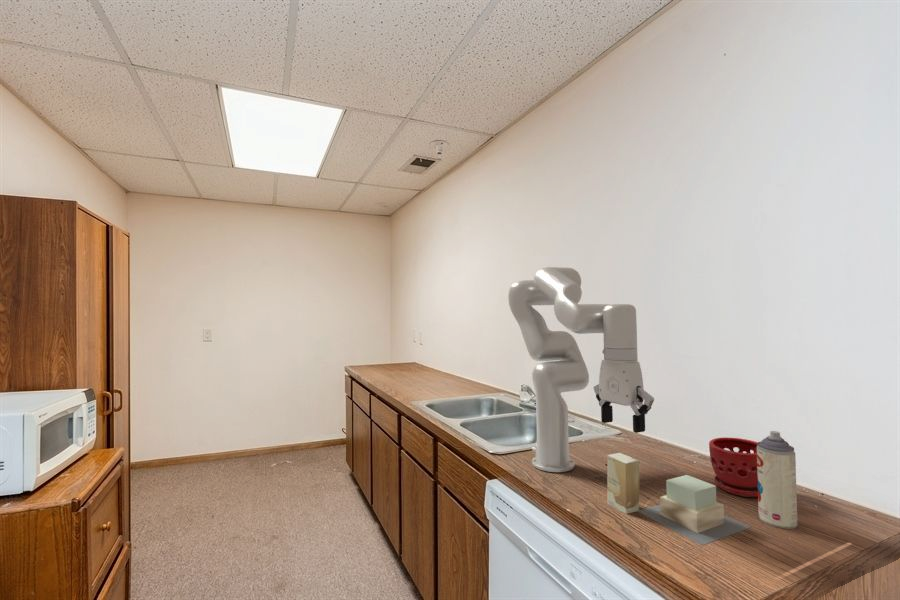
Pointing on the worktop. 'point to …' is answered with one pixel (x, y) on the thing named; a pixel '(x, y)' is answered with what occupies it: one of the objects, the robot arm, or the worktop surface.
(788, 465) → the aerosol can
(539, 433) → the robot arm
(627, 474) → the skincare box
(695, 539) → the mat
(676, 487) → the top block
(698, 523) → the base block
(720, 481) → the plant pot
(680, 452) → the worktop surface
